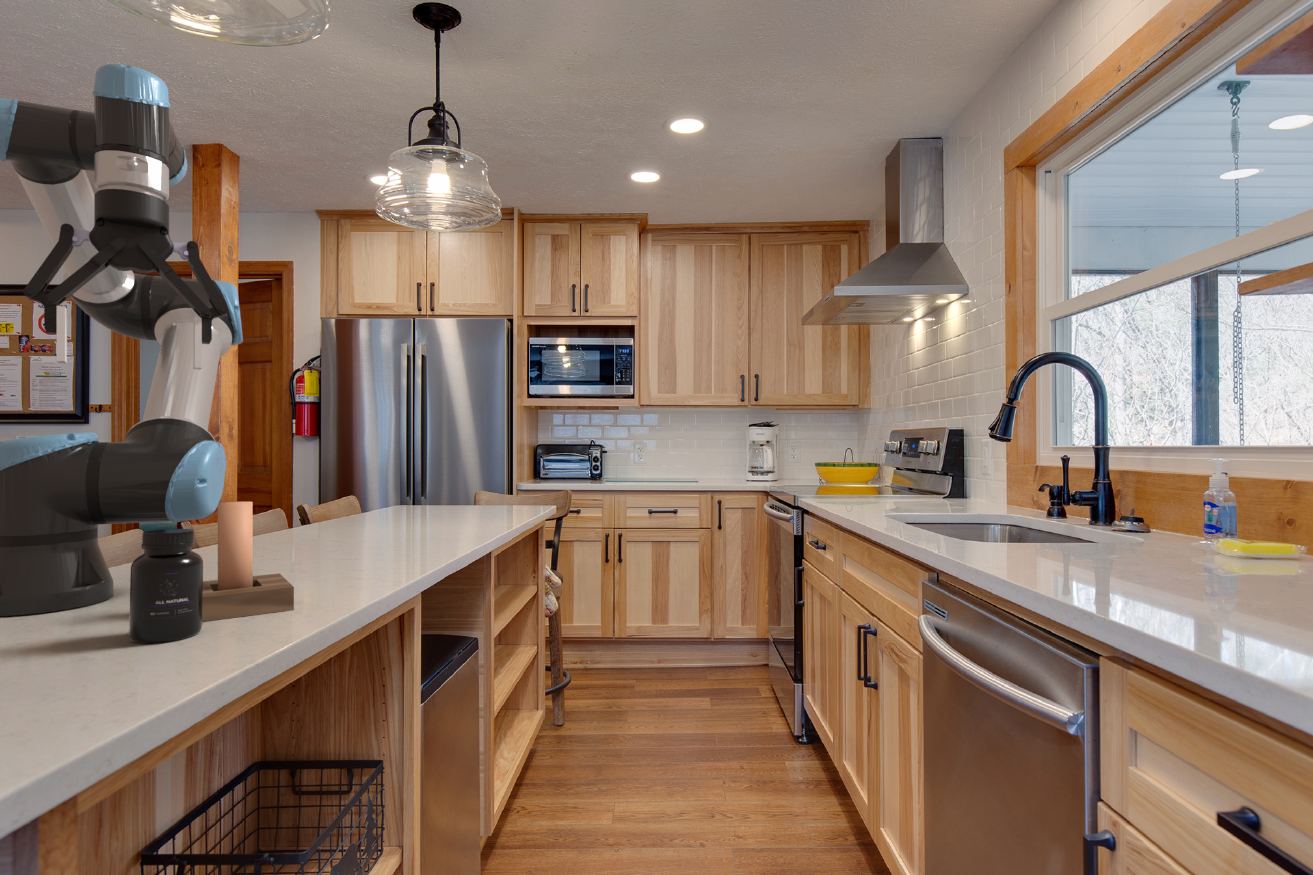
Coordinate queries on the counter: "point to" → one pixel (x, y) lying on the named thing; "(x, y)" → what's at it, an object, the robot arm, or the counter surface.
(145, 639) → the supplement bottle
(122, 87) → the robot arm
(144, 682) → the counter surface
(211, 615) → the socket block
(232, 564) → the dowel
